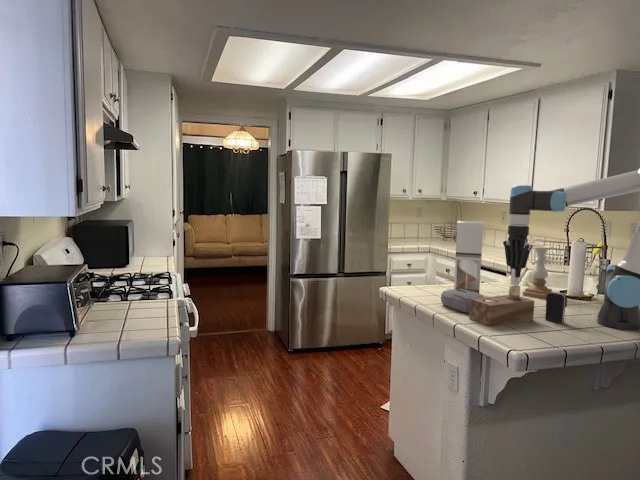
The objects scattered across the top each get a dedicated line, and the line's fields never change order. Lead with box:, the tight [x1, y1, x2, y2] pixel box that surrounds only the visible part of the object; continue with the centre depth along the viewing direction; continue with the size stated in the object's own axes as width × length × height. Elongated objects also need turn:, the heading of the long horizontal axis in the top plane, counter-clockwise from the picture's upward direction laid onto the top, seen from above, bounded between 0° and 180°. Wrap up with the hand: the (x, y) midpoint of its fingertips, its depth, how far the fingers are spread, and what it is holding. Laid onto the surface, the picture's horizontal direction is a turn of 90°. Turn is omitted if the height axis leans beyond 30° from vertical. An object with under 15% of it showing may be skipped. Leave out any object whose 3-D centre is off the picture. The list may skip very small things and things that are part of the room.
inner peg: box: [508, 284, 521, 300], centre depth 190 cm, size 4×4×6 cm
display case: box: [453, 220, 484, 294], centre depth 227 cm, size 11×11×35 cm
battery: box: [544, 291, 568, 324], centre depth 188 cm, size 7×4×11 cm, turn 37°
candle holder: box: [522, 244, 554, 300], centre depth 230 cm, size 11×11×24 cm
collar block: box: [468, 294, 535, 327], centre depth 188 cm, size 11×22×8 cm, turn 113°
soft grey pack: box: [440, 288, 485, 314], centre depth 205 cm, size 15×8×20 cm
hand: (514, 284), depth 190 cm, fingers closed
